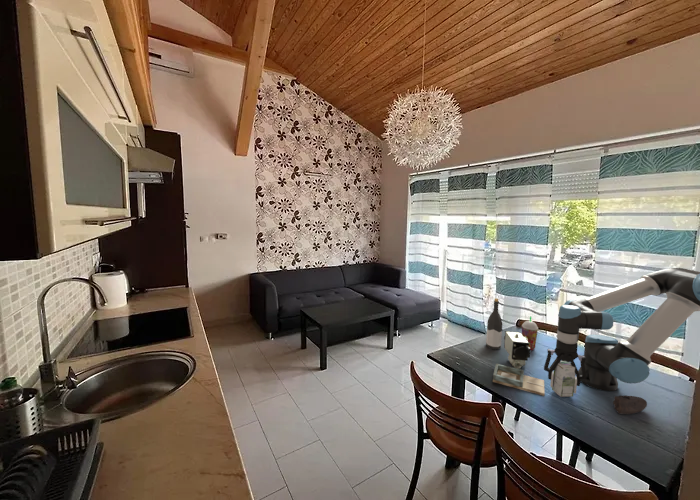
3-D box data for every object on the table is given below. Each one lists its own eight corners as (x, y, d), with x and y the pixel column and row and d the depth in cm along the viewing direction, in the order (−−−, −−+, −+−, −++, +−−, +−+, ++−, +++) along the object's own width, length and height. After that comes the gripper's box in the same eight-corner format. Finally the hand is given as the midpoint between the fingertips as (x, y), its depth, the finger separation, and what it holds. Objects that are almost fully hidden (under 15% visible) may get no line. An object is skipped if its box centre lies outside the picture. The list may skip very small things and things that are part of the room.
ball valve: (531, 375, 149) (534, 341, 147) (512, 373, 151) (515, 340, 149) (518, 358, 167) (520, 327, 164) (502, 356, 168) (504, 326, 166)
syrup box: (563, 389, 137) (566, 359, 135) (573, 397, 131) (576, 366, 129) (551, 389, 136) (554, 360, 134) (561, 397, 131) (563, 366, 129)
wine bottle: (501, 345, 182) (504, 298, 178) (499, 350, 175) (503, 301, 171) (487, 342, 186) (490, 296, 182) (485, 347, 180) (488, 299, 175)
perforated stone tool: (638, 406, 126) (641, 391, 125) (652, 415, 121) (655, 399, 120) (606, 409, 124) (608, 393, 123) (619, 417, 119) (621, 401, 118)
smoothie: (516, 346, 181) (519, 314, 178) (527, 344, 183) (530, 313, 180) (528, 352, 173) (531, 319, 170) (539, 350, 175) (542, 318, 173)
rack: (543, 382, 143) (544, 375, 143) (544, 396, 133) (545, 388, 132) (495, 370, 154) (496, 363, 154) (492, 381, 144) (493, 374, 143)
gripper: (595, 342, 128) (590, 391, 131) (539, 332, 139) (535, 378, 142) (598, 349, 122) (593, 400, 125) (539, 338, 133) (535, 386, 136)
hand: (562, 388), depth 133 cm, fingers closed on syrup box, 8 cm apart
